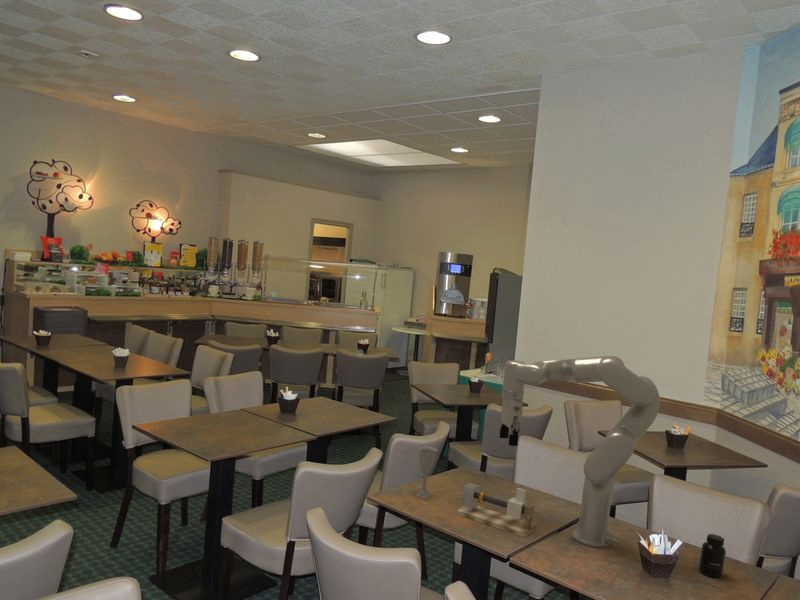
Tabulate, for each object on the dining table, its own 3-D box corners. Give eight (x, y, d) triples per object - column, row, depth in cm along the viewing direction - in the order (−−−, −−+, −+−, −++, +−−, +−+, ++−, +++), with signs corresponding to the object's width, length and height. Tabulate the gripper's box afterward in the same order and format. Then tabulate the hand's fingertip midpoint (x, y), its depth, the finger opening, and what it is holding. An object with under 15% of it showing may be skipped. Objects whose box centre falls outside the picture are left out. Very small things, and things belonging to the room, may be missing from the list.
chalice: (415, 490, 247) (420, 445, 246) (432, 493, 246) (437, 448, 245) (413, 497, 240) (418, 450, 239) (430, 500, 239) (436, 453, 238)
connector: (484, 510, 230) (487, 487, 229) (478, 514, 226) (481, 491, 225) (467, 505, 234) (470, 482, 233) (461, 508, 229) (464, 485, 229)
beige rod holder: (535, 528, 222) (538, 503, 222) (525, 537, 214) (528, 511, 213) (468, 506, 236) (471, 483, 235) (456, 514, 227) (459, 489, 227)
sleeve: (524, 515, 222) (528, 488, 221) (519, 519, 218) (522, 492, 217) (511, 510, 224) (514, 484, 224) (506, 514, 220) (509, 488, 220)
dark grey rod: (526, 513, 220) (527, 507, 220) (524, 514, 218) (525, 509, 218) (471, 495, 231) (472, 490, 231) (469, 497, 229) (470, 491, 229)
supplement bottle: (711, 579, 197) (716, 542, 197) (693, 569, 204) (698, 533, 203) (727, 577, 200) (732, 540, 199) (709, 567, 206) (714, 531, 206)
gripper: (531, 400, 221) (526, 449, 221) (514, 390, 238) (510, 435, 238) (511, 399, 219) (506, 448, 220) (495, 389, 236) (490, 434, 237)
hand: (508, 441), depth 229 cm, fingers open, 9 cm apart
